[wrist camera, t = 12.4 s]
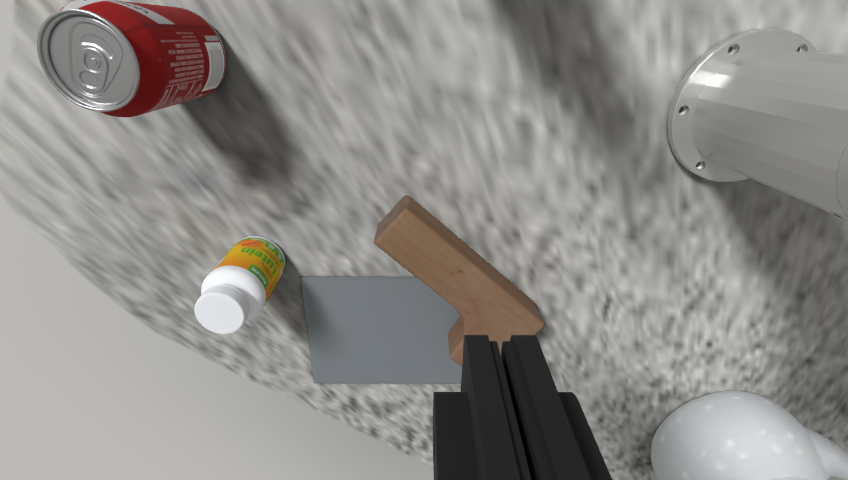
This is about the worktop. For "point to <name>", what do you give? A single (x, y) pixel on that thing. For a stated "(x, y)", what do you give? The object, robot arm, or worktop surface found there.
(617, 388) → the worktop surface
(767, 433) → the teapot
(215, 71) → the soda can
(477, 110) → the worktop surface
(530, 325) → the wooden block
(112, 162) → the worktop surface
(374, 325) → the rubber mat
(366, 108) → the worktop surface
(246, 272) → the supplement bottle
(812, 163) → the robot arm
